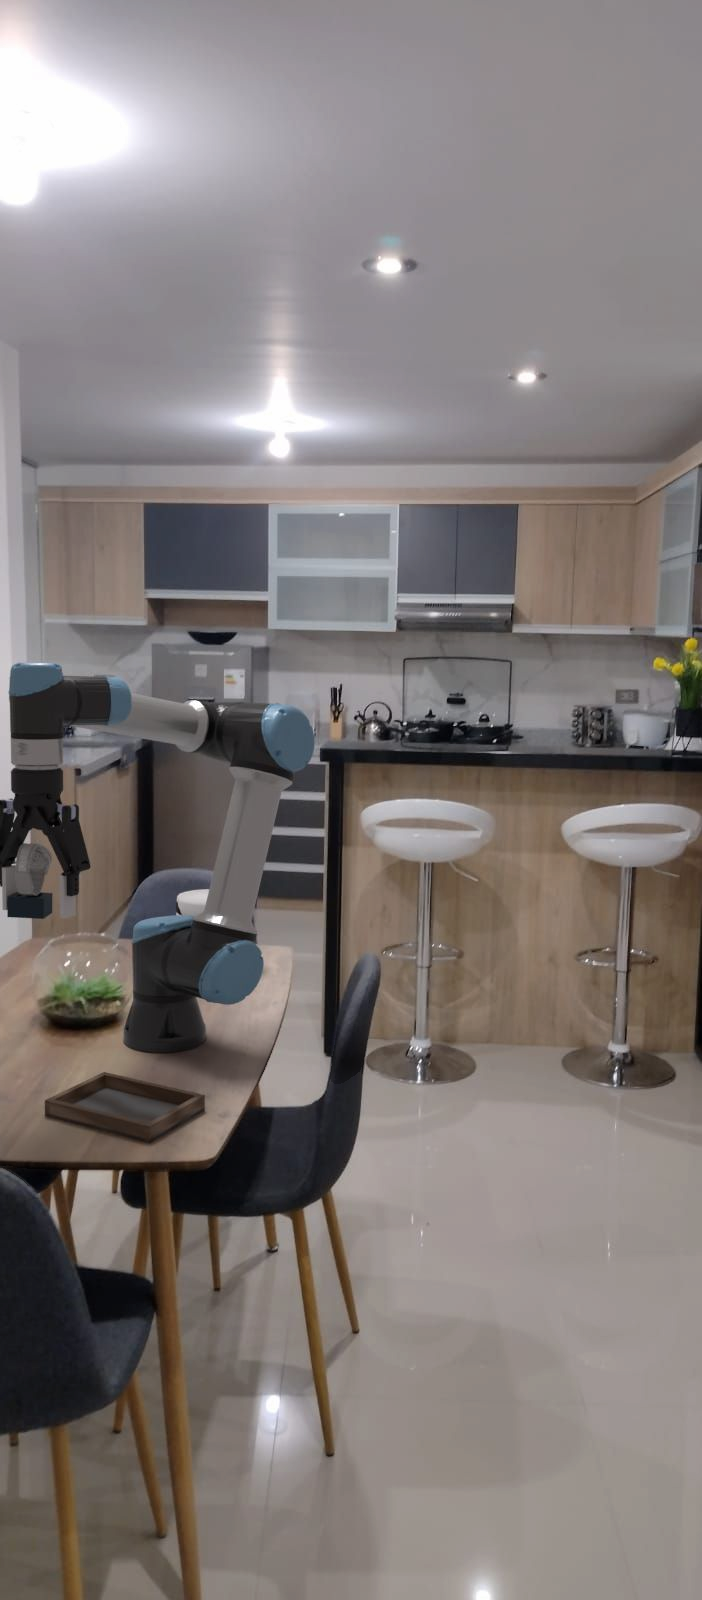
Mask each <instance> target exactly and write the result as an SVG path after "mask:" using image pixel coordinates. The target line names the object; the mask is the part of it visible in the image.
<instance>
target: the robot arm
mask: <svg viewBox="0 0 702 1600" xmlns="http://www.w3.org/2000/svg"><path fill="white" fill-rule="evenodd" d="M10 667H11V668H10V672H9V675H10V676H9V685H8V686H9V688H8V700H9V722H10V723H9V725H10V727H9V729H10V730H9V731H10V764H11V765H13V766H15V767H14V768H12V769H11V770H10V791H11V792H12V793H13V794H14V799H13V798H4V799H0V888H2V893H1V894H2V897H1V898H2V899H1V900H2V910H3V911H7V900H8V896H10V895H12V894H13V893H16V892H18V890H17V887H16V880H15V873H16V859H17V854H18V850H19V848H20V846H21V845H22V844H23V843H25V840H26V838H27V837H28V836H29V833H30V831H32V830H33V829H35V830H37V831H41V832H42V834H43V835H44V836H45V837H47V839H48V841H49V843H50V846H51V848H52V850H53V852H54V854H55V857H56V859H57V861H58V862H59V865H60V867H61V869H62V871H63V872H62V873H60V874H59V875H58V876H59V878H58V879H59V883H58V884H59V919H62V920H65V919H69V918H71V917H75V916H76V915H77V898H76V896H79V893H80V874H81V873H82V872H84V871H87V870H90V869H91V861H90V858H89V854H88V850H87V846H86V842H85V839H84V835H83V830H82V828H81V827H82V826H81V823H80V806H79V805H78V804H63V801H62V798H61V794H62V793H63V791H64V770H63V769H62V768H61V767H60V766H61V765H63V764H64V739H63V737H64V733H63V732H64V727H69V726H70V727H74V728H75V727H76V728H81V729H86V730H92V731H96V732H97V731H98V732H104V733H107V734H108V733H110V734H115V735H120V736H126V737H132V738H137V739H143V740H149V741H153V742H154V741H155V742H161V743H166V744H171V745H172V744H173V745H175V747H177V748H178V750H181V752H186V753H191V754H195V755H199V756H204V757H206V758H210V759H212V760H216V761H219V762H223V763H226V764H229V772H230V773H231V775H232V777H233V779H234V785H233V789H232V792H231V797H230V801H229V806H228V808H227V814H226V817H225V822H224V827H223V830H222V833H221V834H222V835H221V838H220V839H221V840H220V844H219V846H218V851H217V855H216V860H215V863H214V867H213V873H212V876H211V879H210V880H211V881H210V884H209V888H208V889H209V893H208V897H207V901H206V905H205V909H204V911H203V912H202V913H201V914H199V915H197V916H196V917H194V916H189V915H176V914H175V915H166V916H165V915H164V916H155V917H151V918H146V919H143V920H140V921H138V922H137V923H136V924H135V925H134V926H133V928H132V929H133V930H132V941H131V946H132V947H131V950H132V956H131V957H132V958H131V959H132V1002H131V1005H130V1008H129V1011H128V1015H127V1018H126V1020H125V1024H124V1028H123V1043H124V1045H125V1046H127V1047H128V1048H130V1049H133V1050H136V1051H139V1052H144V1053H155V1054H156V1053H158V1054H159V1053H160V1054H163V1053H165V1054H166V1053H175V1052H181V1051H186V1050H187V1051H188V1050H191V1049H194V1048H196V1047H199V1046H201V1045H202V1044H203V1043H204V1042H206V1040H207V1039H206V1038H207V1027H206V1024H205V1021H204V1018H203V1015H202V1010H201V1008H200V1005H199V1001H198V999H197V998H199V999H202V1000H205V1001H206V1002H207V1003H212V1004H221V1005H224V1006H230V1005H235V1004H238V1003H241V1002H243V1001H244V1000H245V999H246V997H247V996H248V997H249V996H250V995H251V994H252V993H253V991H254V990H255V989H256V988H257V986H258V984H259V983H260V980H261V978H262V975H263V973H264V971H263V970H264V957H263V956H262V955H263V954H262V950H261V949H260V947H259V946H258V945H257V944H256V941H257V936H258V931H257V929H256V927H255V925H254V924H253V922H252V921H253V916H254V911H255V907H256V904H257V898H258V894H259V890H260V887H261V886H260V885H261V881H262V877H263V874H264V869H265V864H266V861H267V856H268V852H269V846H270V844H271V839H272V835H273V830H274V827H275V821H276V818H277V817H276V816H277V813H278V809H279V805H280V804H279V803H280V800H281V796H282V792H283V791H284V790H286V789H288V787H290V786H292V785H293V782H294V778H295V773H296V772H299V771H301V770H303V769H304V768H306V765H309V763H310V762H311V760H312V758H313V755H314V752H315V751H314V750H315V735H314V734H315V733H314V730H313V726H312V725H311V723H310V720H309V718H308V717H307V715H306V714H305V713H304V712H303V711H302V710H301V709H299V708H298V707H295V706H293V705H288V704H287V705H286V704H282V703H279V702H273V703H267V702H265V703H263V702H262V703H261V702H257V703H256V702H243V701H233V702H231V701H228V702H212V701H211V702H208V701H206V702H205V701H200V700H195V699H191V700H187V701H184V702H177V701H172V700H168V699H163V698H157V697H153V696H148V695H143V694H139V693H134V692H131V689H130V687H129V685H128V683H126V682H125V680H124V679H122V678H120V677H117V676H108V675H102V676H101V675H98V676H95V675H94V676H90V675H89V676H88V675H86V676H84V675H64V672H63V668H62V666H61V664H59V663H55V662H16V663H14V664H13V665H11V666H10ZM15 815H16V816H15Z"/></svg>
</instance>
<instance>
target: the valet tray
mask: <svg viewBox="0 0 702 1600" xmlns="http://www.w3.org/2000/svg"><path fill="white" fill-rule="evenodd" d="M205 1111H206V1095H205V1094H202V1093H197V1092H193V1091H189V1090H185V1089H180V1088H176V1087H172V1086H167V1085H162V1084H158V1083H155V1082H154V1083H153V1082H150V1081H146V1080H141V1079H137V1078H133V1077H129V1076H123V1075H119V1074H115V1073H111V1072H106V1071H103V1072H100V1073H98V1074H97V1075H94V1076H93V1077H91V1078H89V1079H86V1080H85V1081H82V1082H80V1083H78V1084H75V1085H74V1086H72V1087H69V1088H68V1089H65V1090H63V1091H61V1092H58V1093H57V1094H55V1095H52V1096H50V1097H49V1098H47V1099H44V1116H45V1117H46V1118H47V1117H48V1118H50V1119H54V1120H55V1119H56V1120H58V1121H62V1122H66V1123H70V1124H74V1125H78V1126H81V1127H84V1128H85V1127H86V1128H89V1129H92V1130H97V1131H101V1132H104V1133H108V1134H111V1135H115V1136H120V1137H123V1138H127V1139H131V1140H135V1141H139V1142H143V1143H147V1144H151V1143H153V1142H155V1141H156V1140H158V1139H160V1138H162V1137H163V1136H165V1135H167V1134H168V1133H170V1132H171V1131H173V1130H175V1129H176V1128H179V1127H180V1126H181V1125H183V1124H185V1123H186V1122H189V1121H190V1120H191V1119H193V1118H196V1116H198V1115H200V1114H202V1113H203V1112H205Z"/></svg>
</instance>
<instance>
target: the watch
mask: <svg viewBox="0 0 702 1600" xmlns="http://www.w3.org/2000/svg"><path fill="white" fill-rule="evenodd" d="M15 861H16V864H15V865H16V873H15V880H16V887H17V890H18V892H16V893H13V894H12V895H10V896H8V900H7V910H6V911H7V918H15V919H16V918H20V919H35V920H36V919H37V920H39V919H41V920H43V919H45V918H47V917H48V916H50V915H51V914H52V913H53V892H42V890H43V887H44V883H45V879H46V876H47V875H48V872H49V870H50V866H51V864H52V861H53V854H52V852H51V851H50V849H49V848H48V847H47V846H45V845H43V844H39V843H36V842H30V843H25V842H24V843H23V844H22V845H21V846H20V848H19V850H18V854H17V857H16V859H15Z"/></svg>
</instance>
